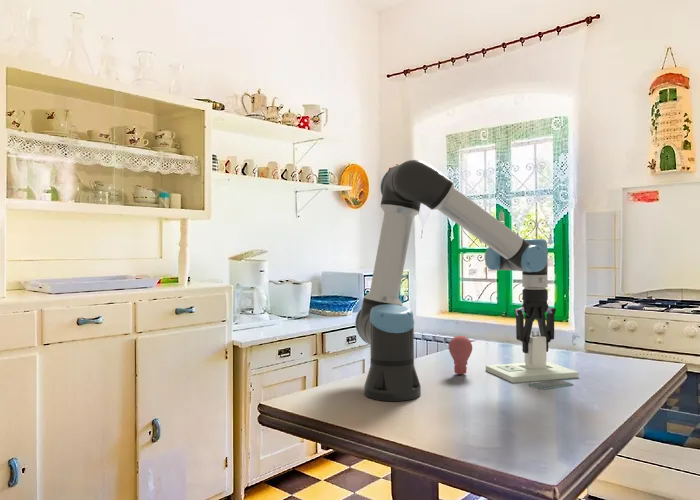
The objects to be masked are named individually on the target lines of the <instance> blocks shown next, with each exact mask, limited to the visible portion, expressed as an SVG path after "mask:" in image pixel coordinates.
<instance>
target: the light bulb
mask: <svg viewBox="0 0 700 500" xmlns="http://www.w3.org/2000/svg"><path fill="white" fill-rule="evenodd" d="M448 351H449V353H450V356H451V358H452V359H453V364H454V366H453V371H454V373H455V374H458V375H459V376H460V375H464V374H467V365H468V360H469V358H470V357H471V354H472V351H473V344H472V342H471V341H470V339H469V338H468V337H466V336H464V335H456V336H454V337H453V338H452V339H450V340H449V343H448Z"/></svg>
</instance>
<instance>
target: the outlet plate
mask: <svg viewBox="0 0 700 500" xmlns="http://www.w3.org/2000/svg"><path fill="white" fill-rule="evenodd" d="M485 371H486V372H489V373H490V374H492V375H494V376H497V377H499V378H501V379H504V380H505V381H508V382H511V383H513V384H514V383H525V382H541V381H550V380H556V379H559V380H561V379H562V380H564V379H574V378H575V379H576V378H579V377H580V375H579V371H577V370H573V369H570V368H568V367H565V366H561V365H559V364H556V363H553V362H550V361H548V360H546V369H532V370H531V369H529V368H526V367H525V362H521V363H520V362H518V363H506V364H503V363H502V364H489V365H485Z"/></svg>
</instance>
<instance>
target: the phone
mask: <svg viewBox="0 0 700 500" xmlns="http://www.w3.org/2000/svg"><path fill="white" fill-rule="evenodd" d="M528 385H529V386H530V387H534V388H537V389H540V390H543V391H546V390H551V389H556V388H563V387H570V386H571V387H572V386H574V383H572V382H569V381H566V380H563V379H562V380H561V379H552V380H542V381H536V382H531V383H528Z"/></svg>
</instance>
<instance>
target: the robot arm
mask: <svg viewBox="0 0 700 500" xmlns="http://www.w3.org/2000/svg"><path fill="white" fill-rule="evenodd" d="M454 186H455V185H454V181H453V180H451V179H450V178H449V177H447V176H446V175H445V174H444V173H442V172H441V171H439V170H438V169H436V168H435V167H434V166H432V165H431V164H429V163H427V162H425V161H423V160H417V159H409V160H407V161H404V162H402V163H400V164H398V165H394V166H393V167H391V168H390V169H388V170H387V171H386V172H385V174H384V175H383V177H382V178H381V181H380V193H381V195H382V196H381V201H380V208H381V209H382V211H383V213H384V214H383V217H382V218H383V219H382V224H381V229H380V236H379V240H378V246H377V250H376V257H375V262H374V266H373V267H374V268H373V272H372V276H371V277H372V279H371V283H370V290H369V292H368V293H367V294H365V295H364V296H363V299H362V305H361V308H360V310H359V311H358V313H357V315H356V316H355V323H354V324H355V325H354V326H355V329H356V333H357V334H358V336H359V337H360V338H361V340H362V341H364V342H365V344H368V345H370V366H369V370H368V373H367V376H366V379H365V382H364V386H363V387H364V388H363V389H364V390H363V391H364V395H365V397H367V398H369V399H372V400H375V401H383V402H402V401H411V400H414V399H417V398H419V397H420V396H421V394H422V390H421V389H422V388H421V384H420V380H419V377H418V374H417V371H416V368H415V357H414V356H415V353H414V352H415V348H414V347H415V345H414V344H415V343H414V342H415V341H414V340H415V338H414V336H415V331H414V329H415V320H414V313H413V311H412V309H411V308H410V307H408V306H405V305H403V303H402V301H401V299H400V297H399V295H400V291H401V284H402V280H403V274H404V268H405V263H406V258H407V252H408V247H409V241H410V235H411V230H412V227H413V226H412V225H413V220H414V218H415V217H416V216H417V215H418V214H420V208H421V204H422V205H424V206H426V207H428V208H429V209H430V210H431V211H434V210H438V211H439V212H440V213H441V214H443V215H445V216H446V217H448V218H449V220H451V221H452V222H454V223H455V224H456V225H458V226H460V227H461V228H463V229H464V230H465V231H467V232H468V233H469V234H471V235H472V236H473V237H475V238H476V239H477V240H479V241H480V242H482V243H483V244H484V245H486V246H487V249H486V250H485V255H484V261H485V265H486V266H487V267H486V268H488V269H489V270H491V271H513V272H514V271H515V272H521V273H522V274H521V277H522V279H521V280H522V281H521V283H522V284H521V286H522V288H523V289H522V302H523V303H522V305H521V307H519V308H514V310H513V313H514V316H515V333H516V334H515V335H516V336H515V337H516V340H517V341H519V342H521V343H522V345H521V346H522V349H521V350H522V353H524V363H527V364H532V360H531V343H529V340H530V335H532V329H533V324H534V323H535V319H536V321H537V325H538V329H539V330H538V331H539V335H540V336H544V337H546V353H547V352H549V343H551V341H552V340H554V339H555V314H556V312H557V309H556V308H555V307H551V306H549V304H548V300H549V299H548V298H549V292H548V291H549V290H548V289H547V288H548V284H549V283H548V267H549V266H548V265H549V264H548V259H549V257H548V256H549V255H548V254H549V252H548V251H549V250H548V241H547V240H546V239H544V238H527V239H526V238H525V239H524V238H523V237H521V236H519V235H518V234H517V233H515V232H514V231H513V230H512V229H510V228H509V227H507V225H506V224H504V223H502V222H501V221H500V220H498V219H497V218H496V217H494V216H493V215H492V214H490V213H489V212H487V211H486V210H485V209H484V208H482V207H481V206H480V205H478V204H477V203H476V202H475V201H473V200H472V199H470V198H469V197H468V196H466V195H465V194H463V192H462V191H460V190H458V189H457V188H456V187H454ZM524 315H525V316H524ZM533 322H534V323H533Z"/></svg>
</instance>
